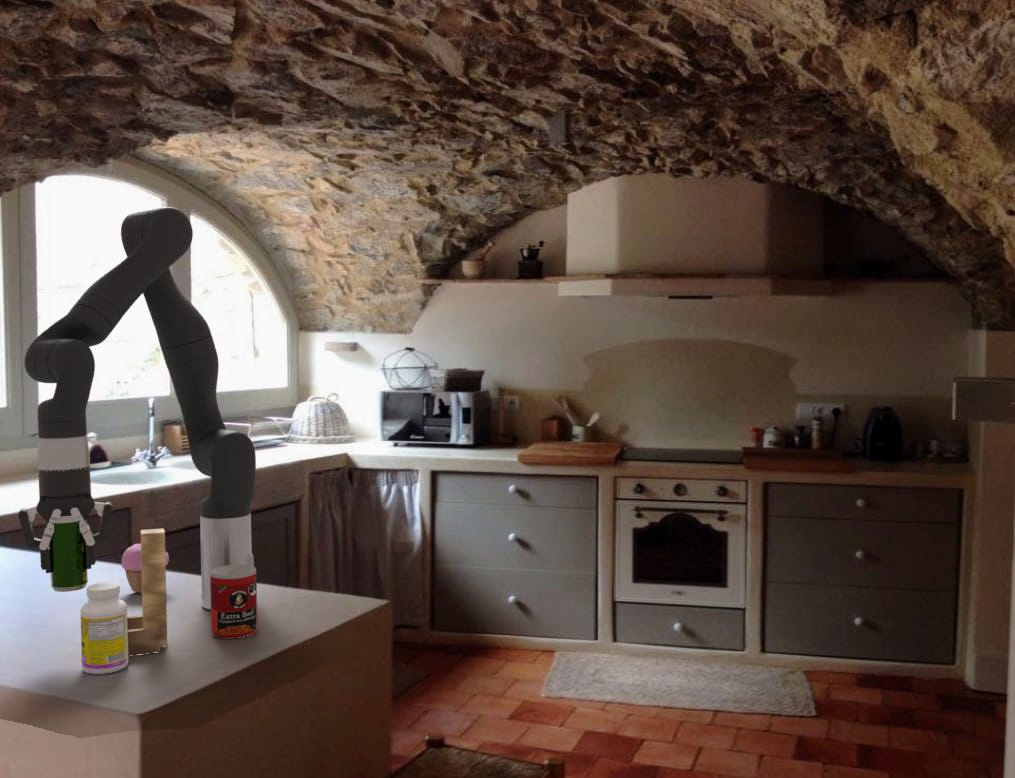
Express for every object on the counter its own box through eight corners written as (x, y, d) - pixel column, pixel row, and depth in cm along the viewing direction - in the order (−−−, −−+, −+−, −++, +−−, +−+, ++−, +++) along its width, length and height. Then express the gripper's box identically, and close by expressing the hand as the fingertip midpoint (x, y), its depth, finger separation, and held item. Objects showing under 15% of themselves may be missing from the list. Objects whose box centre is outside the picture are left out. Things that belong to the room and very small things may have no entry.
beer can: (53, 594, 156) (50, 518, 155) (49, 586, 160) (45, 512, 159) (90, 589, 158) (87, 514, 158) (85, 581, 163) (82, 509, 162)
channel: (156, 636, 169) (156, 613, 169) (159, 652, 160) (159, 628, 160) (92, 643, 165) (92, 620, 165) (92, 660, 156) (91, 635, 156)
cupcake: (177, 590, 200) (176, 541, 199) (139, 600, 192) (138, 549, 192) (151, 584, 205) (149, 536, 204) (112, 593, 198) (111, 543, 197)
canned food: (216, 642, 166) (215, 577, 165) (207, 629, 173) (205, 567, 172) (262, 635, 169) (261, 571, 169) (251, 623, 176) (250, 562, 176)
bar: (166, 640, 167) (163, 528, 166) (167, 646, 163) (164, 532, 162) (143, 643, 165) (140, 530, 164) (144, 649, 162) (141, 534, 161)
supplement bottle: (90, 662, 156) (88, 581, 155) (133, 660, 157) (132, 580, 156) (75, 676, 149) (73, 592, 149) (121, 675, 150) (118, 591, 149)
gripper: (112, 459, 164) (116, 560, 165) (15, 464, 158) (20, 569, 160) (113, 464, 157) (117, 570, 158) (11, 471, 152) (17, 580, 153)
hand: (68, 569), depth 159 cm, fingers closed on beer can, 5 cm apart
